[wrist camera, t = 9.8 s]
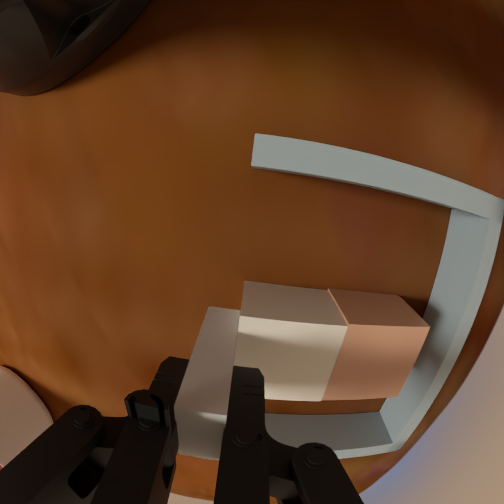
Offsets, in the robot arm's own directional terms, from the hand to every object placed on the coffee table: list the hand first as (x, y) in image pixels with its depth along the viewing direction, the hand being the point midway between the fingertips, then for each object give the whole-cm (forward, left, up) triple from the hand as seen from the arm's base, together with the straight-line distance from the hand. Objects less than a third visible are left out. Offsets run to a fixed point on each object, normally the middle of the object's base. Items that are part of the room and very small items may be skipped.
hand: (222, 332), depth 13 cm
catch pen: (+7, 0, -2) cm, 7 cm away
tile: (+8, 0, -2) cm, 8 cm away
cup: (-22, -16, -2) cm, 27 cm away
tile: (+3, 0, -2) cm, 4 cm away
